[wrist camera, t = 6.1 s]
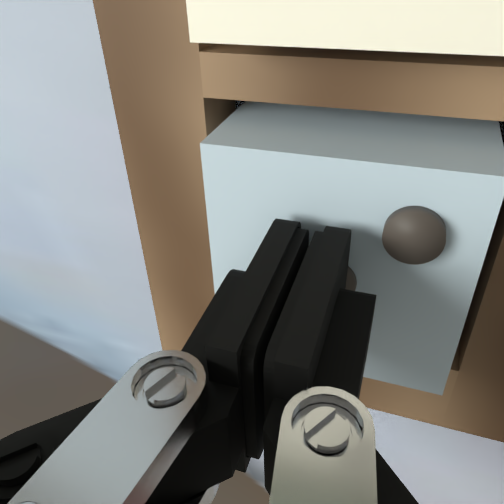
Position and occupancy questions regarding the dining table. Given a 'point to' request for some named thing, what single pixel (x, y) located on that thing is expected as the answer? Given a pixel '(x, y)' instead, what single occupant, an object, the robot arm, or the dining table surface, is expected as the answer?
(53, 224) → the dining table surface
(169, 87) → the wooden compartment tray
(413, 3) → the cream drawer
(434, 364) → the pale blue drawer
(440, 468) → the dining table surface
